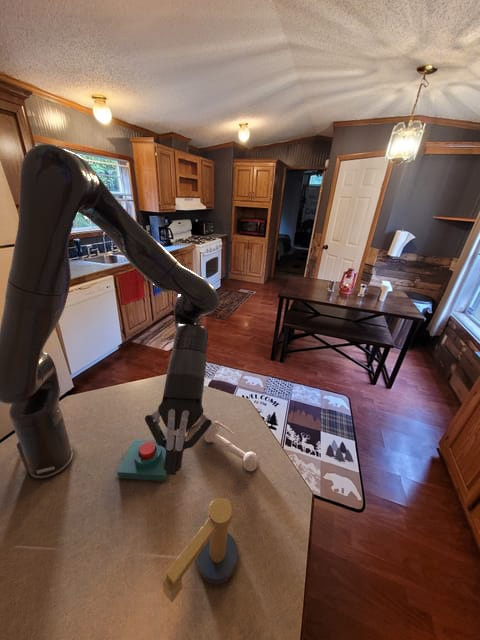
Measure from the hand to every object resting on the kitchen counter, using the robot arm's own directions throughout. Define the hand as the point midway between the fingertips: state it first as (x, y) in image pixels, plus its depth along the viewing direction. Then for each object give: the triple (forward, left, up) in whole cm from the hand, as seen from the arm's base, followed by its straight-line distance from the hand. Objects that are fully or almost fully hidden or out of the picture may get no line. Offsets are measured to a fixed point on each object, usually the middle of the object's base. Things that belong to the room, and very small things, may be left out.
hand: (171, 474), depth 44 cm
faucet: (+10, +23, -22) cm, 33 cm away
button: (-12, +18, -18) cm, 28 cm away
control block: (-12, +18, -22) cm, 31 cm away
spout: (+6, -6, -11) cm, 14 cm away
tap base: (+9, -2, -22) cm, 24 cm away
